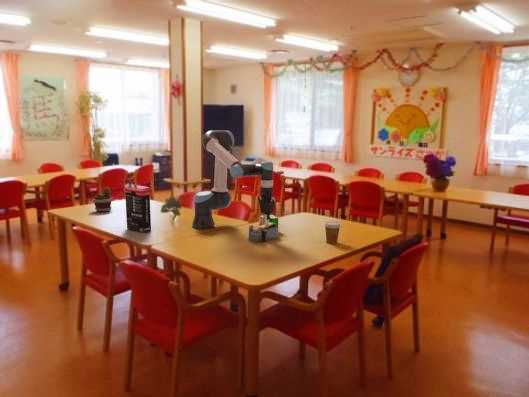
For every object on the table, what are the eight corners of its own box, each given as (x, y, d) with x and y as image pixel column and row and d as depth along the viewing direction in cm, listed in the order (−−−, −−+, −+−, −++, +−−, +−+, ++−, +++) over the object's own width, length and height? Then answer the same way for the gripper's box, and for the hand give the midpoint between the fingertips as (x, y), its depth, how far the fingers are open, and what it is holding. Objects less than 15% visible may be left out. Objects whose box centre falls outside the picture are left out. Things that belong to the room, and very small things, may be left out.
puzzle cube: (273, 229, 303) (273, 214, 301) (278, 233, 294) (278, 218, 292) (258, 230, 300) (259, 215, 298) (263, 234, 291) (263, 218, 289)
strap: (251, 230, 274) (251, 228, 273) (268, 224, 286) (268, 221, 286) (257, 232, 271) (257, 229, 270) (274, 225, 283) (274, 222, 283)
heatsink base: (246, 239, 276) (246, 225, 275) (265, 233, 291) (265, 220, 290) (261, 243, 269) (261, 228, 267) (280, 236, 284) (280, 222, 282)
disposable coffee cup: (340, 241, 276) (341, 222, 274) (338, 245, 267) (339, 225, 265) (325, 239, 279) (325, 220, 276) (322, 243, 270) (323, 224, 267)
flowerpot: (95, 213, 343) (93, 187, 339) (92, 210, 356) (90, 185, 352) (115, 212, 349) (113, 186, 346) (111, 208, 363) (110, 183, 359)
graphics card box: (152, 231, 294) (150, 189, 289) (143, 233, 288) (142, 191, 283) (134, 227, 303) (132, 187, 298) (125, 229, 297) (124, 188, 292)
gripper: (254, 186, 277) (254, 224, 281) (271, 188, 269) (271, 227, 274) (262, 185, 283) (262, 221, 287) (279, 187, 275) (278, 224, 279)
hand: (266, 224), depth 280 cm, fingers closed
